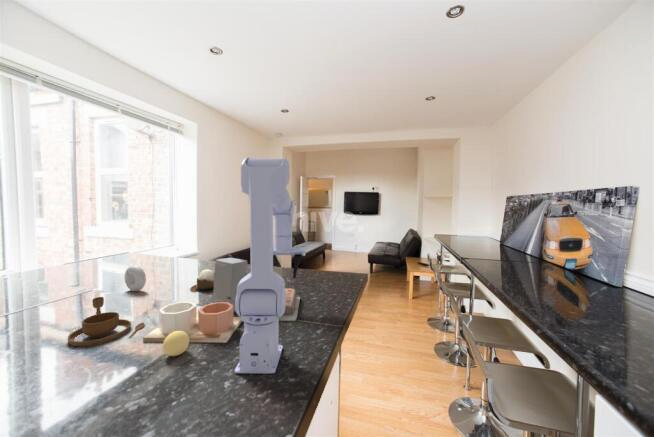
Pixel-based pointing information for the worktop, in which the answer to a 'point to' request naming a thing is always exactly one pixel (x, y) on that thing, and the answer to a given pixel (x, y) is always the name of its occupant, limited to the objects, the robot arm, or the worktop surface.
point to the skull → (204, 282)
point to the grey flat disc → (135, 278)
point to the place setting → (101, 326)
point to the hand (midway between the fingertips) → (282, 277)
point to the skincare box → (228, 279)
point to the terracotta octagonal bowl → (215, 318)
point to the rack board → (196, 334)
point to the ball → (176, 343)
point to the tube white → (177, 317)
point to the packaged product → (290, 306)
